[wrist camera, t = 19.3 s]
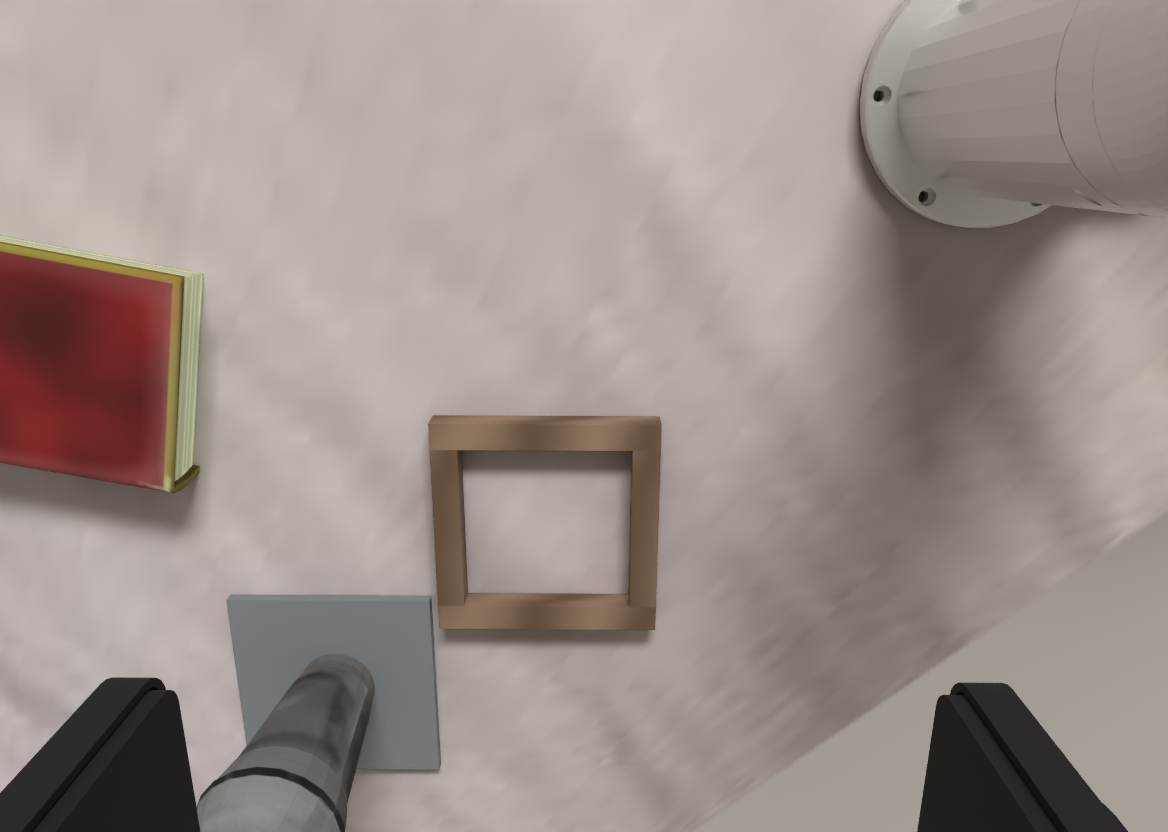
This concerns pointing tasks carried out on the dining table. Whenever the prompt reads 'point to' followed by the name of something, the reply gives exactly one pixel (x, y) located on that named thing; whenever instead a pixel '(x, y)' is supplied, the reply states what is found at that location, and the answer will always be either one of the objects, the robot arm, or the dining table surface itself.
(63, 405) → the hardcover book
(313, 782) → the beverage cup
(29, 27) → the dining table surface
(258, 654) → the slate mat
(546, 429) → the frame
